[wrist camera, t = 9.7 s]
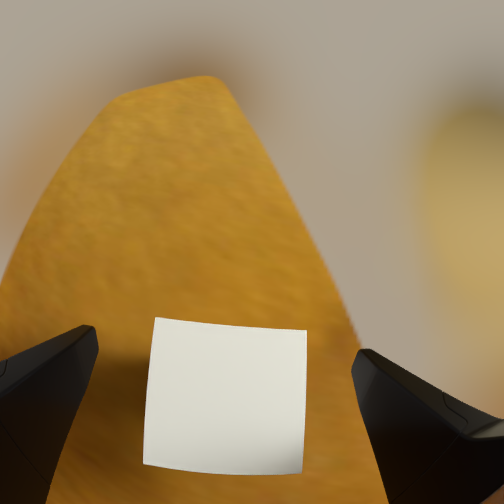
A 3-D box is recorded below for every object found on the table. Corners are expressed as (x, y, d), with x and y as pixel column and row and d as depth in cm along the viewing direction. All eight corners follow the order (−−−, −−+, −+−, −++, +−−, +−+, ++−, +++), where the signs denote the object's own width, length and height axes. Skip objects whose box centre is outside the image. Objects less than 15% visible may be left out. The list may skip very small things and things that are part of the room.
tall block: (252, 427, 14) (301, 473, 6) (183, 421, 14) (143, 463, 5) (255, 363, 16) (306, 330, 7) (187, 357, 16) (155, 317, 7)
